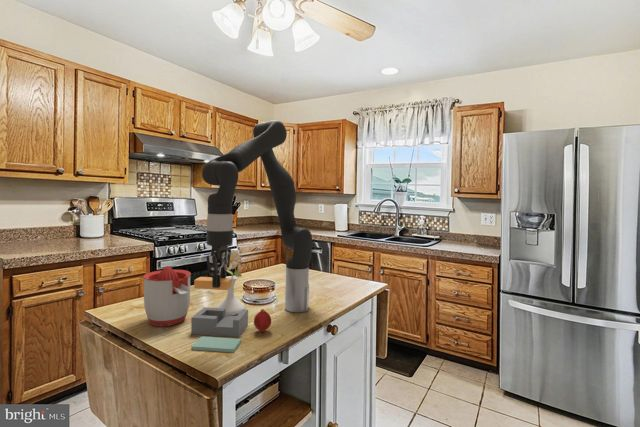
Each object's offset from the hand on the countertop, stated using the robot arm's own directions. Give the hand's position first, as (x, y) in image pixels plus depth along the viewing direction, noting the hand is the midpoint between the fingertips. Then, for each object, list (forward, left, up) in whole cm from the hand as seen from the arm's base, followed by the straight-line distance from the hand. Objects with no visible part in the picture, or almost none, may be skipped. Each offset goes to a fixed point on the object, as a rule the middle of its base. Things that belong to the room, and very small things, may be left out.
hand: (219, 284), depth 102 cm
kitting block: (+3, -12, -19) cm, 23 cm away
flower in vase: (+5, -27, -19) cm, 34 cm away
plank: (+2, 0, -1) cm, 2 cm away
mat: (0, 0, -19) cm, 19 cm away
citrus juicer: (+24, -16, -19) cm, 35 cm away
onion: (-11, -12, -19) cm, 25 cm away
